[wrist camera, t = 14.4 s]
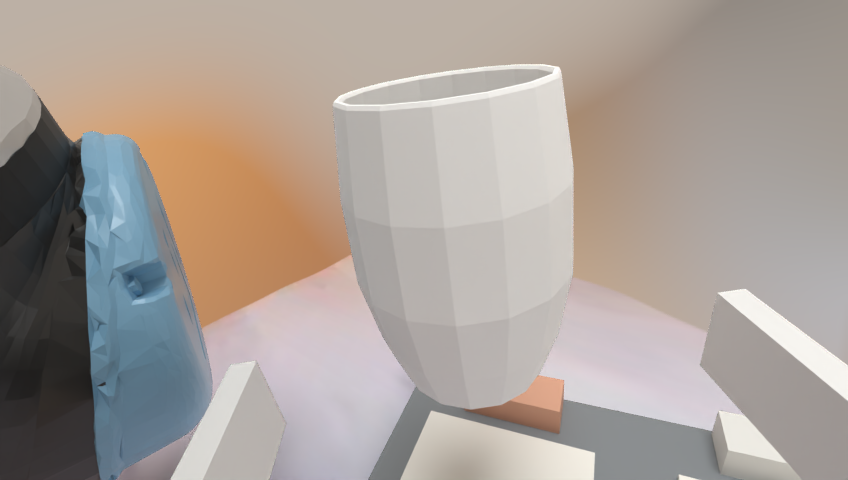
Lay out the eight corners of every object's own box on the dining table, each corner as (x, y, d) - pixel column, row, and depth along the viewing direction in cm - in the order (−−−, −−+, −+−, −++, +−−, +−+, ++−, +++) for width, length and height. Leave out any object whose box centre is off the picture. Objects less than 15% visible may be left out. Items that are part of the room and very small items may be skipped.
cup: (392, 542, 20) (253, 116, 10) (456, 424, 25) (404, 73, 15) (539, 633, 16) (537, 104, 6) (576, 473, 21) (606, 53, 12)
